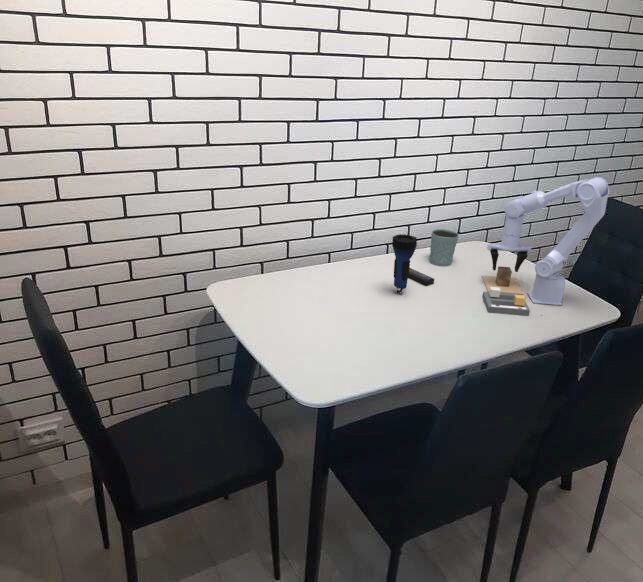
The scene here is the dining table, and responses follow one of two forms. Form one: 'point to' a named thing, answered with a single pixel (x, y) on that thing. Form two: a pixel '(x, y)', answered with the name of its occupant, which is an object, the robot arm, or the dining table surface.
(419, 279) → the multiport hub
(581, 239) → the robot arm
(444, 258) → the green cup
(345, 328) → the dining table surface
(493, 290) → the switch tab
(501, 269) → the block
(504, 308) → the switch panel
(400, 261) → the flashlight
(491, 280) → the mat
